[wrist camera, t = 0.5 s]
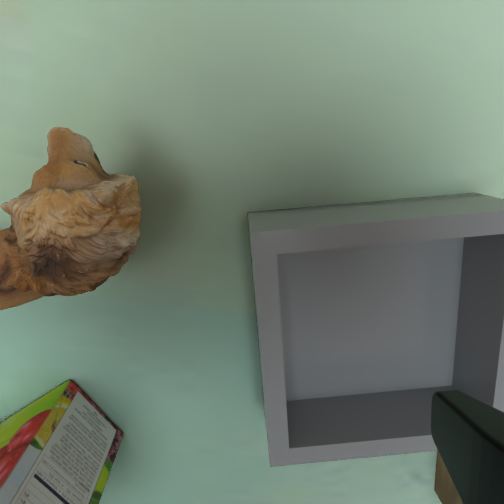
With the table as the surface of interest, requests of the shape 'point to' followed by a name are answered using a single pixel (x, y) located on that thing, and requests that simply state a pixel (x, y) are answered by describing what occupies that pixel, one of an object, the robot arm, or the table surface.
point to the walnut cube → (445, 484)
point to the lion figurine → (67, 225)
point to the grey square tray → (375, 321)
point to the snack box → (57, 450)
